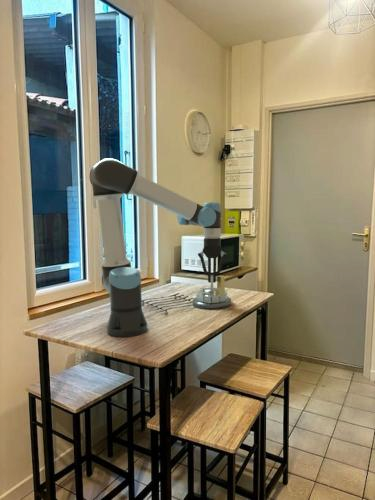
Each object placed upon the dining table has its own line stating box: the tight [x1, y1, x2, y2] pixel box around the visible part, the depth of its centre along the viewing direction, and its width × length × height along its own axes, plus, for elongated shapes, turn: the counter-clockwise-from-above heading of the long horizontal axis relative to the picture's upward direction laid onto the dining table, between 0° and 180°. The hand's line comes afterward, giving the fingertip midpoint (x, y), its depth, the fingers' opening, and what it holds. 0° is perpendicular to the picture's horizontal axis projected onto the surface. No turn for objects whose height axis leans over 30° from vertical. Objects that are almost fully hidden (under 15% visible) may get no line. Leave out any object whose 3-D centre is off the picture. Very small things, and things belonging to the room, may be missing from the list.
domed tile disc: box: [195, 275, 228, 303], centre depth 179 cm, size 14×14×12 cm
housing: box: [192, 287, 232, 310], centre depth 179 cm, size 18×18×7 cm
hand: (211, 289), depth 174 cm, fingers closed
